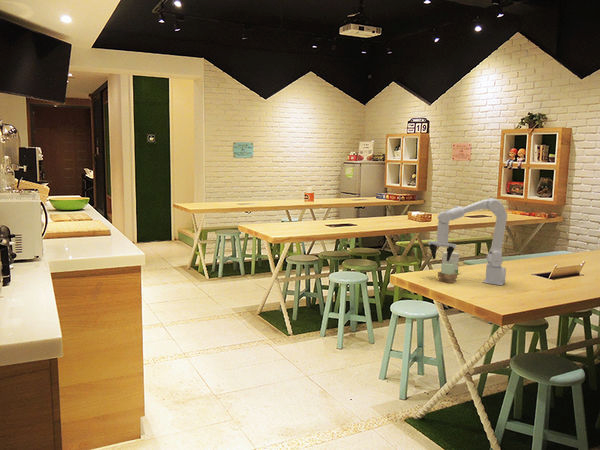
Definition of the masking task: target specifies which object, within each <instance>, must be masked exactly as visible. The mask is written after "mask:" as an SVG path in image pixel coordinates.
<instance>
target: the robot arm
mask: <svg viewBox="0 0 600 450" xmlns="http://www.w3.org/2000/svg"><path fill="white" fill-rule="evenodd" d="M480 209H481V210H489V211H491V212H492V213H493V215H494V216H495V217H496V219H495V225H494V231H493V235H492V240H491V246H490V248H489V252H488V254H487V255H486V260H487V263H486V269H485V279H484V280H483V281H482V283H485V284H488V285H489V284H491V285H496V286H503V285H504V284H506V274H507V268H506V267H503V266H502V264H503V257H502V255H503V251H502V250H503V249H502V248H503V242H504V235H505V232H506V225H507V221H508V220H507V219H508V213H507V211H506V209H505V207H504V204H503V202H501V201H500V200H499V199H496V198H495V197H494V198H493V197H489V198H485V199H482V200H479V201H476V202H473V203H471V204H469V205H466V206H463V207H462V206H458V205H455V206H454V207H453V208H450V209H446V210H445V211H441V212H439V213H438V216H437V220H438V222H437V233H436V240H435V241H434V240H429V241H428V242H427V245H428V246H429V247H428V248H429V249H430V252H431V255H432V260H435V259H436V257H437V248H438V247H443V248H444V247H445V248H446V252H447V261H449V260H450V257H451V254H452V252H454V250H455V249H457V244H456V243H451V242H449V231H450V226H449V225H450V221H454V220H458V219H460V218H463V217H464V216H465V214H467V213H471V212H473V211H477V210H480Z"/></svg>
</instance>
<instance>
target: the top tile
mask: <svg viewBox="0 0 600 450" xmlns="http://www.w3.org/2000/svg"><path fill="white" fill-rule="evenodd" d="M437 278H439V279H440V278H444V279H448V280H451V279H455V278H456V279H458V275H457V273H454V274H451V275H449V274H444V273H441V271H439V272H437Z"/></svg>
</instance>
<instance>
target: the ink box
mask: <svg viewBox="0 0 600 450" xmlns="http://www.w3.org/2000/svg"><path fill="white" fill-rule="evenodd" d="M445 262H447V263H453V264H455V271H454V273H457V276H458V275H459V266H460V265H459V264H460V253H459V252H454V251H453V252H452V254H451V257H450V260H449V261H447V251H442V256H441V264H442V263H445ZM440 267H441V268H442V265H441V266H440Z"/></svg>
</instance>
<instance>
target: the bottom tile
mask: <svg viewBox="0 0 600 450" xmlns="http://www.w3.org/2000/svg"><path fill="white" fill-rule="evenodd" d="M456 279H457V278H455V279H451V280H448V279H444V278H440V277H439V283H446V284H454V283H456V281H457V280H456Z"/></svg>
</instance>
